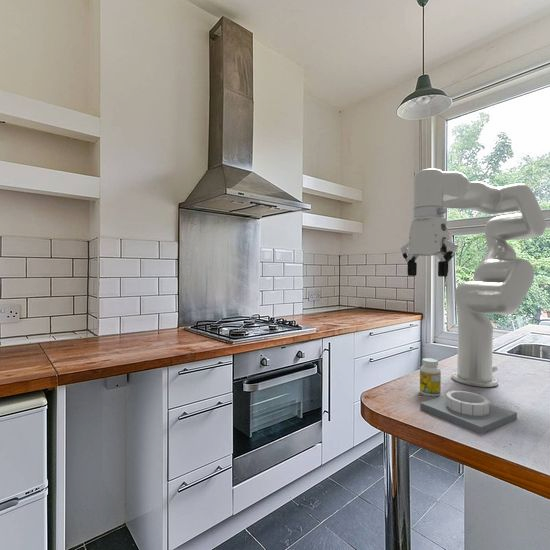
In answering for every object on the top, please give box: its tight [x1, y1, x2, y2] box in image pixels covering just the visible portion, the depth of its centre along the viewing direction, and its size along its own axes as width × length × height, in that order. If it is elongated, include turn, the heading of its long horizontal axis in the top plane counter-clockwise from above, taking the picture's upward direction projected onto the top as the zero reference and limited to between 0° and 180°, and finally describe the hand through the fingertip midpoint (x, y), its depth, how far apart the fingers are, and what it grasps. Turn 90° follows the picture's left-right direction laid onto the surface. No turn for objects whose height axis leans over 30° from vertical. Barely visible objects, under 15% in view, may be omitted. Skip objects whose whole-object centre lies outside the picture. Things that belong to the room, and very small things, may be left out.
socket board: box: [419, 390, 518, 435], centre depth 82 cm, size 15×15×4 cm
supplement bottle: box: [419, 357, 442, 398], centre depth 95 cm, size 5×5×10 cm
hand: (426, 276), depth 94 cm, fingers open, 9 cm apart
